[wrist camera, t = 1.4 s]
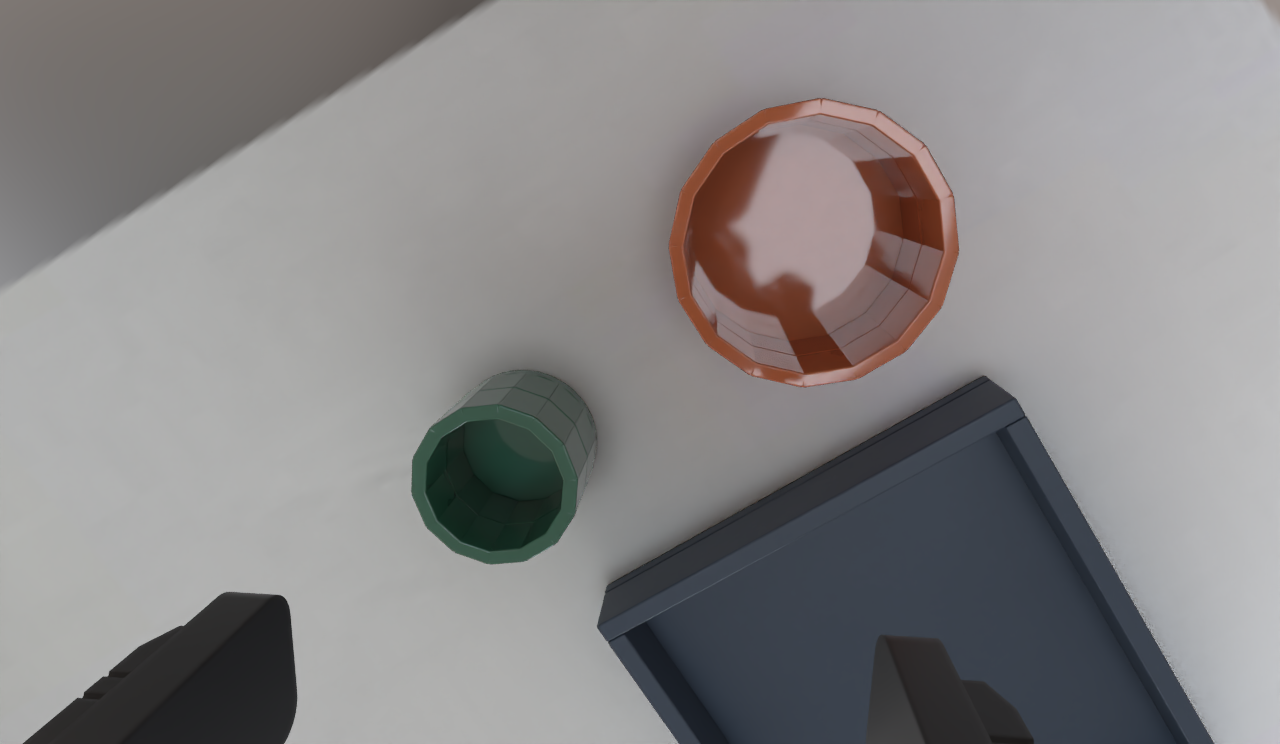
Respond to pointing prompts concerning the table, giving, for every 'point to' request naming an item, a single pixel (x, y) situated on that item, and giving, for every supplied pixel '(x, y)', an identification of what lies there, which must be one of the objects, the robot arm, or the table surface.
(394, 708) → the table surface
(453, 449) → the small bowl
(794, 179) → the big bowl
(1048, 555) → the tray
